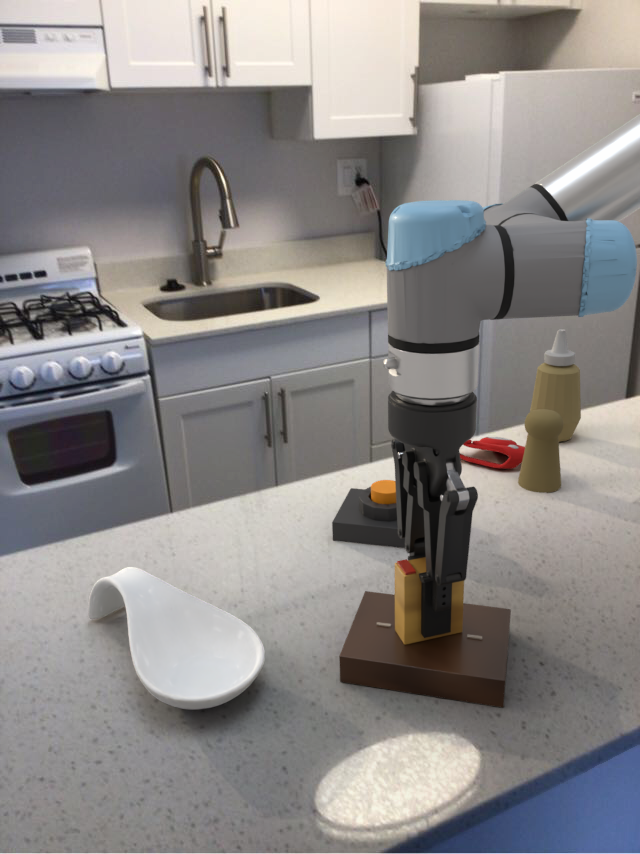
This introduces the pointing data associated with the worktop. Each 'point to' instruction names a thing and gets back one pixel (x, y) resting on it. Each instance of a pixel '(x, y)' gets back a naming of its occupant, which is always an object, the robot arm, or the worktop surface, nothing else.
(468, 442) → the red looped piece
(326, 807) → the worktop surface
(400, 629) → the thumbturn
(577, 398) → the squeeze bottle
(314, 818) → the worktop surface
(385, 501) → the alarm button
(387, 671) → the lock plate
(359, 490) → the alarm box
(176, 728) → the worktop surface
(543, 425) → the tan pawn
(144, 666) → the spoon rest
